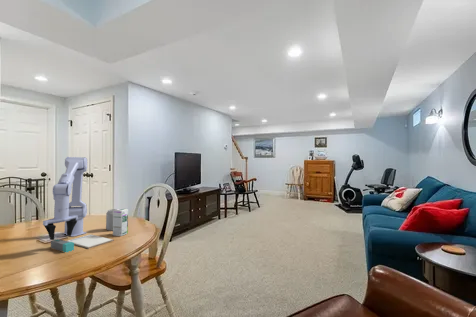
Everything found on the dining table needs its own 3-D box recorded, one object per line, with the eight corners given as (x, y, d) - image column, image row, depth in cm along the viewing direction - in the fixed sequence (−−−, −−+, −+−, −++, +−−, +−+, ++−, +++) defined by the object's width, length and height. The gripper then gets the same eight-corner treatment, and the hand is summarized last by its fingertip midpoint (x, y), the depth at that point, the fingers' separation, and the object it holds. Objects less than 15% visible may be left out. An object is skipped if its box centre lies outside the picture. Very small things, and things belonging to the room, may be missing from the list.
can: (122, 228, 155) (122, 209, 155) (112, 231, 148) (113, 211, 148) (112, 227, 157) (113, 208, 158) (103, 230, 150) (103, 210, 151)
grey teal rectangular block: (50, 248, 119) (50, 240, 119) (58, 245, 123) (58, 238, 123) (65, 252, 114) (65, 244, 114) (73, 250, 117) (74, 242, 117)
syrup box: (121, 236, 139) (122, 210, 139) (112, 235, 140) (112, 209, 140) (127, 233, 145) (128, 208, 145) (119, 232, 146) (119, 208, 146)
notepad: (64, 242, 127) (64, 240, 127) (91, 235, 140) (91, 234, 140) (87, 248, 119) (88, 247, 119) (113, 240, 132) (113, 239, 132)
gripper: (49, 212, 111) (48, 242, 110) (82, 207, 124) (81, 234, 123) (40, 210, 114) (39, 240, 114) (73, 206, 127) (72, 232, 127)
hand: (60, 237), depth 119 cm, fingers open, 7 cm apart
